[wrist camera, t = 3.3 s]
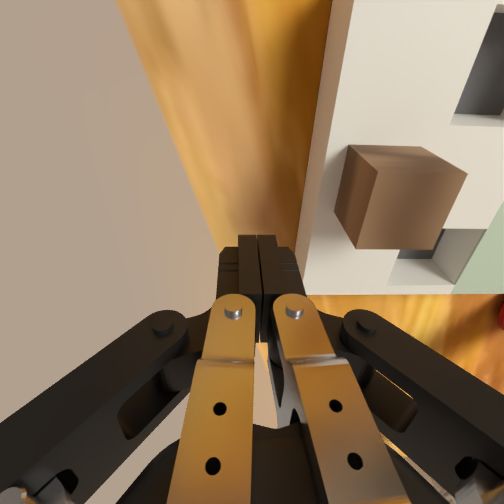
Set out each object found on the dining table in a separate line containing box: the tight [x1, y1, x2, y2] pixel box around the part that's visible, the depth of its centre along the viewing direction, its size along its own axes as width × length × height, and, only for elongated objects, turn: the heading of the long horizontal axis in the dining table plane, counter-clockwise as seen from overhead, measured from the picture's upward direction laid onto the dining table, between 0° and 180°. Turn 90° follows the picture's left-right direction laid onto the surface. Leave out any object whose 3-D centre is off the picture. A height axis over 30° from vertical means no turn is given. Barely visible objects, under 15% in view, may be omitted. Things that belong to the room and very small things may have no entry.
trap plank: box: [294, 0, 504, 295], centre depth 21 cm, size 20×20×4 cm
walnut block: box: [334, 145, 468, 250], centre depth 18 cm, size 4×4×4 cm
